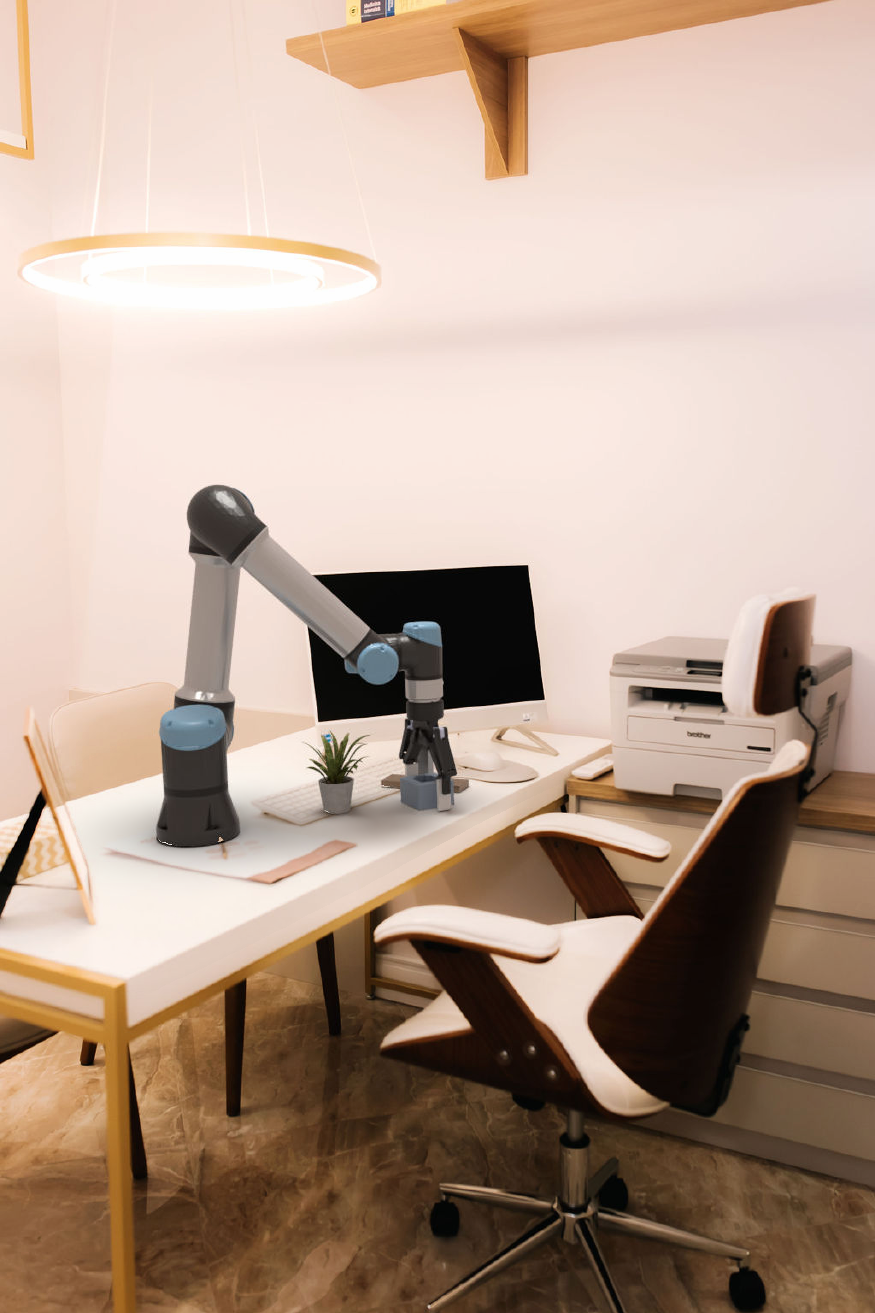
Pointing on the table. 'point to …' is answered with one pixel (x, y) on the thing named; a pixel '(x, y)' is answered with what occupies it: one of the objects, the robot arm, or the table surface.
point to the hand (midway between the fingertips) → (428, 802)
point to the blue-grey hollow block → (421, 791)
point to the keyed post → (423, 768)
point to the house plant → (336, 775)
